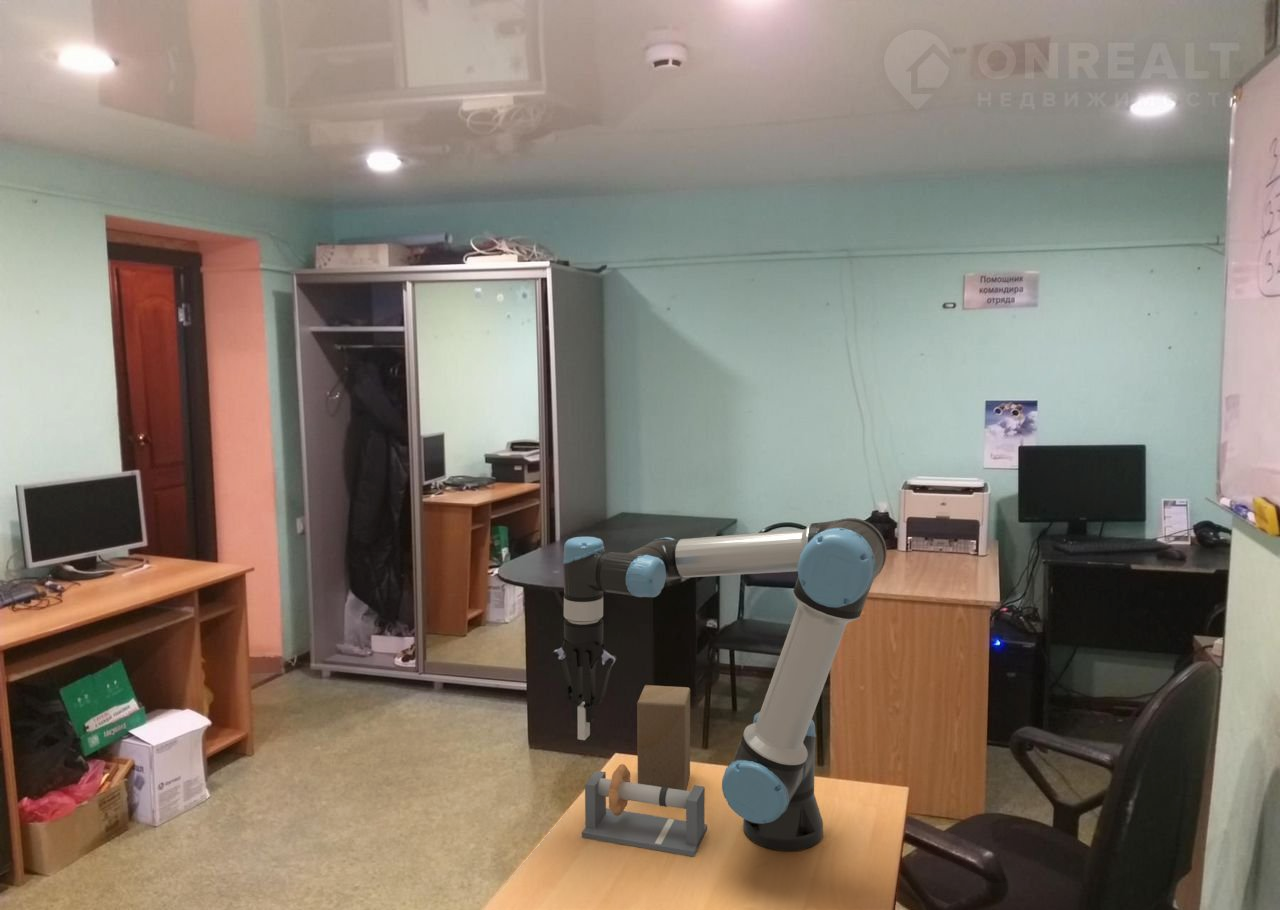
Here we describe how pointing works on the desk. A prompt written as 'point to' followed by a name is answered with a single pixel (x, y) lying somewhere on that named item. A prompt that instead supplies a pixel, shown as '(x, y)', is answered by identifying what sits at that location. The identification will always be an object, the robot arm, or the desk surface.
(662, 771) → the wooden block
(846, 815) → the desk surface
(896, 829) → the desk surface
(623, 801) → the o-ring
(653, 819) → the pipe stand
